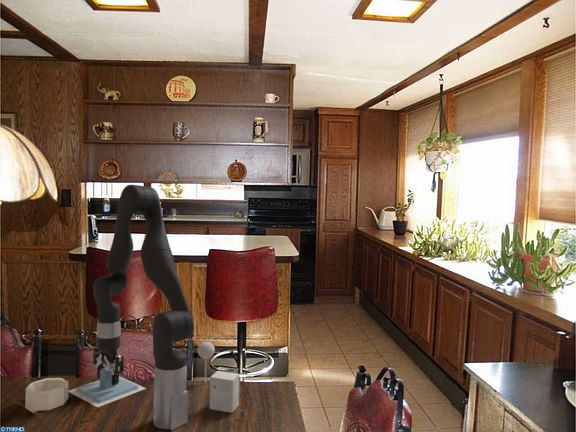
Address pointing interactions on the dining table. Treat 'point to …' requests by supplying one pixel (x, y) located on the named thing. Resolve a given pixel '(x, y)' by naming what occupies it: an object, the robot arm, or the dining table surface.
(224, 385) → the small box
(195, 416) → the dining table surface
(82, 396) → the mat
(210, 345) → the lollipop
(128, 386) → the lid
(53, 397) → the bowl
